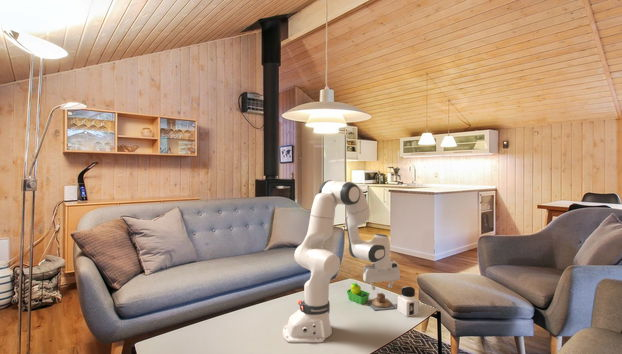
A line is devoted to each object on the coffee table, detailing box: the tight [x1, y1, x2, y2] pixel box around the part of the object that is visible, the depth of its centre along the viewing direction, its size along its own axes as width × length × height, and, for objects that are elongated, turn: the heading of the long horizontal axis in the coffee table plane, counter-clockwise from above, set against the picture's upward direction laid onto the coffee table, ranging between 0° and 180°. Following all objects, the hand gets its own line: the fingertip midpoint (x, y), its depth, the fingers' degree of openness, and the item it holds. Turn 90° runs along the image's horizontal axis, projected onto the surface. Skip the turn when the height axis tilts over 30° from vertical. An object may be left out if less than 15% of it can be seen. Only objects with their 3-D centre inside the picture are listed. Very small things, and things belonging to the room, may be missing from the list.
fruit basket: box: [346, 282, 370, 306], centre depth 182 cm, size 11×9×11 cm
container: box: [396, 285, 420, 318], centre depth 168 cm, size 8×8×13 cm
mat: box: [366, 297, 397, 312], centre depth 177 cm, size 12×12×1 cm
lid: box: [371, 292, 392, 308], centre depth 177 cm, size 10×10×5 cm
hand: (381, 288), depth 177 cm, fingers open, 8 cm apart
